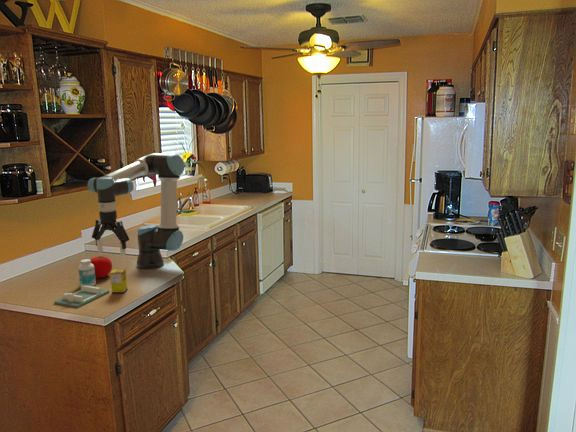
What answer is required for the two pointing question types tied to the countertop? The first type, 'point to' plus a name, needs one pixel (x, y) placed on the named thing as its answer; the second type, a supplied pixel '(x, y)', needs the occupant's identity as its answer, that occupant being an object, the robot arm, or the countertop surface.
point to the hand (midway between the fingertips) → (111, 254)
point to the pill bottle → (87, 273)
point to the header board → (81, 296)
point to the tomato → (101, 266)
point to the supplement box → (118, 280)
